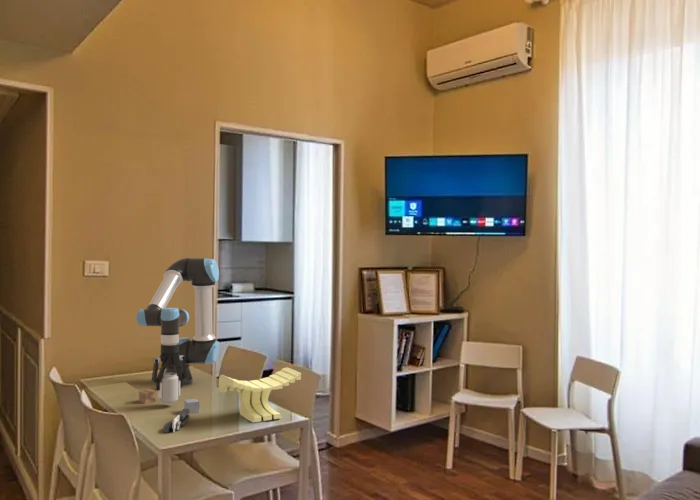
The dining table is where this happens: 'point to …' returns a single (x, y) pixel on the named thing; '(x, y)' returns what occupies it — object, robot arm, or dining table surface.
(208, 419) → the dining table surface
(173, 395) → the can
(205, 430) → the dining table surface
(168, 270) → the robot arm
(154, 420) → the dining table surface
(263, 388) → the slatted curved stool
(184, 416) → the can opener
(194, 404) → the slate grey block
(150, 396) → the walnut block
